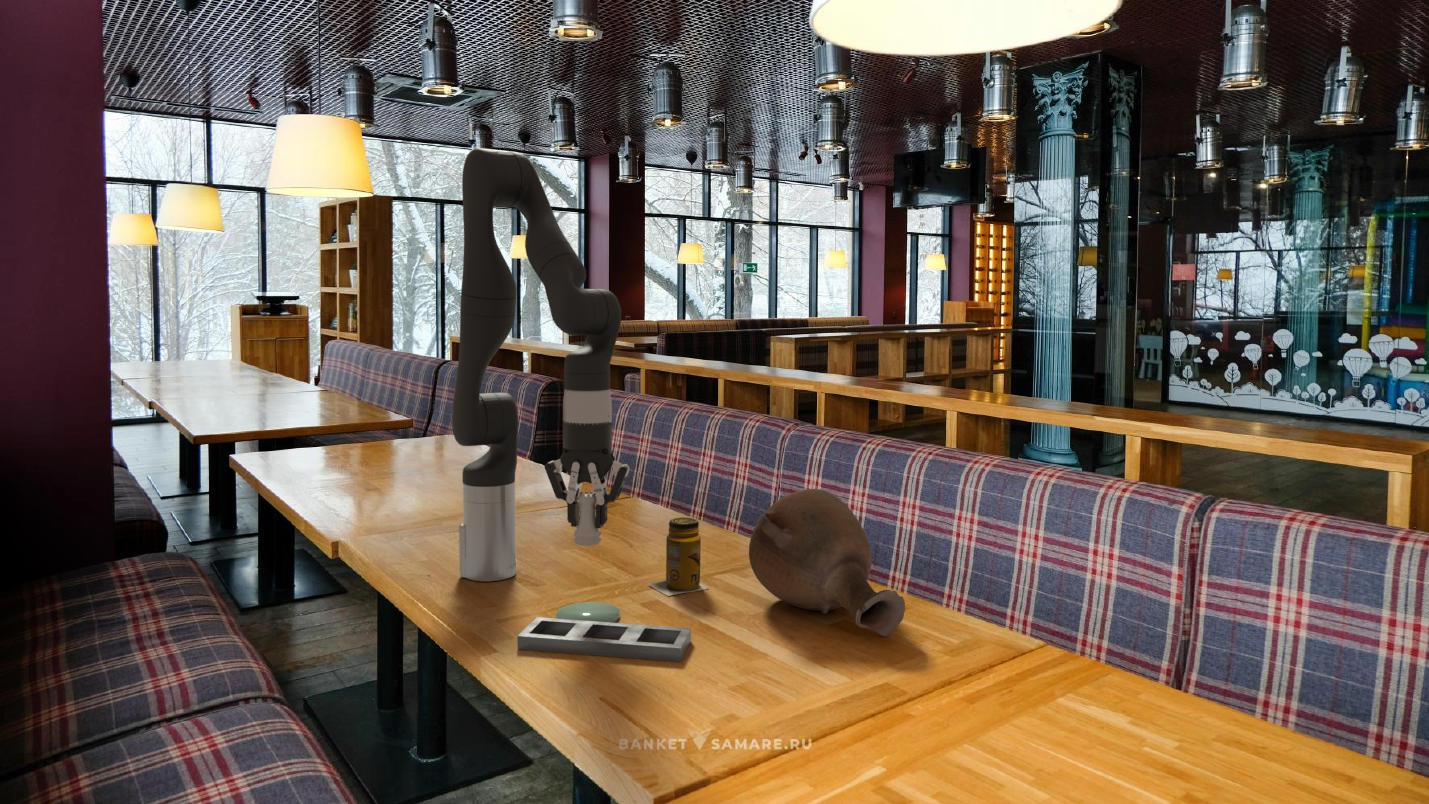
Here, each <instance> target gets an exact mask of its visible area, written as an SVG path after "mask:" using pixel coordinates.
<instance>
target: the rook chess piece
mask: <svg viewBox="0 0 1429 804" xmlns="http://www.w3.org/2000/svg"><path fill="white" fill-rule="evenodd" d="M577 501H579V508H578V509H579V523H578V526H576V527H575V528H576V529H575V530H574V532H573V535H574V538H572V539H573V542H574V543H575V545H577V546H582V547H583V546H585V547H588V546H589V547H590V546H596V545H599V544H600V542H601V541H602V538H601V537H600V536H601V535H602V533H601V530H600V528H596V503H597V499H596V495H595V491H593V490H592V491H591V490H590V491H588V490H585V491H580V492H579V497H578V498H577Z"/></svg>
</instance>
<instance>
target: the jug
mask: <svg viewBox="0 0 1429 804" xmlns="http://www.w3.org/2000/svg"><path fill="white" fill-rule="evenodd" d="M872 555H873V554H872V549H871V545H870V542H869V538H868V537H867V534H866V533H865V531H864V529H863V527H862V524H861V522H859V520H858V518H857V516H856V515H855V514H854V513H853V511H852V510H851V509H850V507H848V505H847V504H846V503H845V502H844V501H843V500H842V499H840V497H838V496H837V495H835V494H834V493H832V492H830V491H828V490H826V489H819V488H805V489H802V490H801V489H800V490H797V491H794V492H791V493H789V494H786V495H785V496H783V497H781V498H779V499H778V500H777V501H776V502H774V503H773V504H772V505H771V506H769V507H768V508H767V509H766V510H765V511H764V512H763V513H762V514H761V516H760V517H759V518H758V519H757V521H756V524H755V526H754V529H753V531H752V534H751V536H750V540H749V544H748V558H749V559H748V560H749V564H750V566H751V570H752V572H753V574H754V575H755V578H756V579H757V581H758V582H759V583H760V584H761V585H762V586H763V587H764V588H765V589H766V590H767V591H768V593H770V594H771V595H772V596H774V597H776V598H777V599H779V600H780V601H782V602H784V603H786V604H789V605H791V606H794V607H796V608H800V609H803V610H808V611H814V612H815V611H817V612H821V614H823V615H825V614H827V613H828V612H829V611H833V610H837V609H838V608H841V607H842V608H845V609H846V610H847V611H848V613H849V614H850V616H851V617H853V620H854V622H855V624H856V626H858V627H859V628H862V629H870V630H871V631H873V632H875V633H876V634H878V635H879V636H884V637H886V638H887V637H889V636H891V635H892V633H893V632H895V630H896V629H897V628H898V627H899V625H900V624H901V623H902V621H903V620H904V616H905V614H906V613H905V611H906V602H905V599H904V597H903V596H900V595H899V594H898V592H897V591H895V590H889V589H884V590H880V591H878V592H876V591H875V590H874V589H873V588H872V586H871V585H870V583H869V582H868V579H869V577H870V573H871V568H872V561H873V560H872V559H873V557H872Z"/></svg>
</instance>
